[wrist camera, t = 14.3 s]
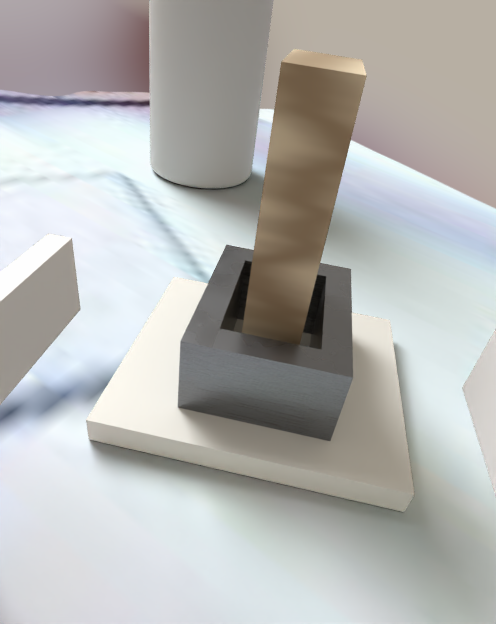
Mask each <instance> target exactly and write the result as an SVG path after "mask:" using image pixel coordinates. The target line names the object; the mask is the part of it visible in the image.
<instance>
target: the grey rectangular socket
mask: <svg viewBox="0 0 496 624" xmlns="http://www.w3.org/2000/svg"><path fill="white" fill-rule="evenodd" d="M253 253H254V250H250V249H245V248H240V247H235V246H230V245H226V247H225V249H224V251H223V253H222V255H221V257H220V260H219V262H218V264H217V266H216V268H215V270H214V272H213V274H212V276H211V278H210V280H209V283H208V285H207V287H206V289H205V291H204V293H203V295H202V297H201V299H200V301H199V303H198V305H197V308H196V310H195V312H194V314H193V316H192V318H191V320H190V322H189V324H188V326H187V328H186V330H185V333H184V335H183V337H182V339H181V341H180V362H179V385H178V408H182V409H187V410H191V411H196V412H200V413H205V414H209V415H214V416H218V417H223V418H227V419H232V420H236V421H241V422H245V423H250V424H254V425H259V426H263V427H268V428H272V429H277V430H281V431H286V432H290V433H295V434H299V435H304V436H308V437H313V438H317V439H322V440H326V441H331V438H332V435H333V432H334V430H335V427H336V424H337V421H338V419H339V416H340V413H341V410H342V408H343V405H344V402H345V399H346V396H347V394H348V391H349V388H350V385H351V383H352V380H353V344H352V301H351V269H348V268H343V267H338V266H333V265H328V264H322V263H320V265H319V269H318V273H317V277H316V281H315V285H314V289H313V293H312V297H311V301H310V305H309V309H308V313H307V317H306V321H305V325H304V329H303V332H304V333H309V334H311V340H310V347H307V346H302V345H297V344H292V343H287V342H283V341H278V340H273V339H268V338H263V337H259V336H254V335H249V334H244V333H239V332H234V331H233V330H234V327H235V324H236V321H237V319H240V320H244V314H245V307H246V301H247V294H248V287H249V280H250V273H251V266H252V260H253Z"/></svg>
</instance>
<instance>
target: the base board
mask: <svg viewBox="0 0 496 624" xmlns="http://www.w3.org/2000/svg"><path fill="white" fill-rule="evenodd" d="M207 285H208V283H203V282H198V281H193V280H188V279H183V278H178V277H174V278H173V279H172V281H171V282H170V284H169V286H168V287H167V289H166V291H165V292H164V294H163V296H162V297H161V299H160V300H159V302H158V304H157V305H156V307H155V309H154V310H153V312H152V313H151V315H150V317H149V318H148V320H147V322H146V323H145V325H144V326H143V328H142V330H141V331H140V333H139V335H138V336H137V338H136V340H135V341H134V343H133V344H132V346H131V348H130V349H129V351H128V353H127V354H126V356H125V357H124V359H123V361H122V362H121V364H120V366H119V367H118V369H117V370H116V372H115V374H114V375H113V377H112V379H111V380H110V382H109V384H108V385H107V387H106V388H105V390H104V392H103V393H102V395H101V397H100V398H99V400H98V401H97V403H96V405H95V406H94V408H93V410H92V411H91V413H90V414H89V416H88V418H87V419H86V422H87V430H88V437H89V440H94V441H98V442H102V443H107V444H111V445H115V446H120V447H124V448H128V449H133V450H137V451H141V452H146V453H150V454H154V455H159V456H163V457H167V458H172V459H176V460H180V461H185V462H189V463H193V464H198V465H202V466H206V467H211V468H215V469H219V470H224V471H228V472H232V473H237V474H241V475H245V476H250V477H254V478H258V479H263V480H267V481H271V482H276V483H280V484H284V485H289V486H293V487H297V488H302V489H306V490H310V491H315V492H319V493H323V494H328V495H332V496H336V497H341V498H345V499H349V500H354V501H358V502H362V503H367V504H371V505H375V506H380V507H384V508H388V509H393V510H397V511H401V512H405V510H406V508H407V507H408V505H409V503H410V502H411V500H412V498H413V497H414V495H415V494H414V487H413V480H412V473H411V466H410V459H409V451H408V444H407V437H406V430H405V423H404V416H403V409H402V402H401V395H400V388H399V381H398V374H397V367H396V360H395V353H394V346H393V338H392V331H391V324H390V320H387V319H382V318H377V317H372V316H367V315H362V314H357V313H352V344H353V380H352V383H351V385H350V388H349V391H348V394H347V396H346V399H345V402H344V405H343V408H342V410H341V413H340V416H339V419H338V421H337V424H336V427H335V430H334V432H333V435H332V438H331V441H326V440H322V439H317V438H313V437H308V436H304V435H299V434H295V433H290V432H286V431H281V430H277V429H272V428H268V427H263V426H259V425H254V424H250V423H245V422H241V421H236V420H232V419H227V418H223V417H218V416H214V415H209V414H205V413H200V412H196V411H191V410H187V409H182V408H178V385H179V362H180V341H181V339H182V337H183V335H184V333H185V330H186V328H187V326H188V324H189V322H190V320H191V318H192V316H193V314H194V312H195V310H196V308H197V305H198V303H199V301H200V299H201V297H202V295H203V293H204V291H205V289H206V287H207ZM243 321H244V320H240V319H237V321H236V324H235V327H234V330H233V331H234V332H239V333H242V328H243ZM310 340H311V334H309V333H304V332H303V333H302V337H301V341H300V345H302V346H307V347H310Z"/></svg>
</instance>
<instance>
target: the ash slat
mask: <svg viewBox="0 0 496 624" xmlns="http://www.w3.org/2000/svg"><path fill="white" fill-rule="evenodd" d="M365 80H366V72H365V68H364V65H363V61H362V60H360V59H354V58H347V57H342V56H335V55H329V54H323V53H316V52H310V51H304V50H298V49H294V50H293V51H292V52H291V53H290V54H289V55H288V56H287V57H286V58H285V59H284V60H283V61H282V62H281V68H280V76H279V82H278V89H277V96H276V102H275V109H274V116H273V123H272V130H271V137H270V143H269V150H268V157H267V164H266V171H265V178H264V184H263V191H262V198H261V205H260V212H259V219H258V225H257V232H256V239H255V246H254V253H253V260H252V266H251V273H250V280H249V287H248V294H247V301H246V307H245V314H244V321H243V328H242V333H244V334H249V335H254V336H259V337H263V338H268V339H273V340H278V341H283V342H287V343H292V344H297V345H300V341H301V337H302V333H303V329H304V325H305V321H306V317H307V313H308V309H309V305H310V301H311V297H312V293H313V289H314V285H315V281H316V277H317V273H318V269H319V265H320V261H321V257H322V253H323V249H324V245H325V241H326V237H327V233H328V229H329V225H330V221H331V217H332V213H333V209H334V205H335V201H336V197H337V193H338V189H339V185H340V181H341V177H342V173H343V169H344V165H345V161H346V157H347V153H348V148H349V144H350V140H351V136H352V132H353V128H354V124H355V120H356V116H357V112H358V108H359V104H360V100H361V96H362V92H363V88H364V84H365Z"/></svg>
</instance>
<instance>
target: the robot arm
mask: <svg viewBox="0 0 496 624" xmlns="http://www.w3.org/2000/svg"><path fill="white" fill-rule="evenodd" d="M79 311H80V302H79V293H78V285H77V277H76V269H75V260H74V252H73V244H72V238H69V237H64V236H58V235H53V234H47V235H46V236H45V237H44V238H42V239H41V240H40V241H39V242H37V243H36V244H35V245H34V246H32V247H31V248H30V249H29V250H27V251H26V252H25V253H24V254H22V255H21V256H20V257H19V258H17V259H16V260H15V261H14V262H12V263H11V264H10V265H9V266H7V267H6V268H5V269H4V270H2V271H1V272H0V404H1V403H2V402H3V401H4V400H5V398H6V397H7V396H8V395H9V394H10V393H11V391H12V390H13V389H14V388H15V387H16V385H17V384H18V383H19V382H20V381H21V379H22V378H23V377H24V376H25V375H26V374H27V372H28V371H29V370H30V369H31V368H32V366H33V365H34V364H35V363H36V362H37V360H38V359H39V358H40V357H41V356H42V354H43V353H44V352H45V351H46V350H47V349H48V347H49V346H50V345H51V344H52V343H53V341H54V340H55V339H56V338H57V337H58V335H59V334H60V333H61V332H62V331H63V330H64V328H65V327H66V326H67V325H68V324H69V322H70V321H71V320H72V319H73V318H74V316H75V315H76V314H77V313H78V312H79ZM462 389H463V392H464V396H465V399H466V402H467V405H468V409H469V412H470V415H471V418H472V422H473V425H474V428H475V431H476V434H477V438H478V441H479V444H480V447H481V451H482V454H483V457H484V460H485V464H486V467H487V470H488V473H489V476H490V480H491V483H492V486H493V489H494V493H495V496H496V329H495V331H494V333H493V335H492V336H491V338H490V340H489V342H488V343H487V345H486V347H485V349H484V351H483V352H482V354H481V356H480V358H479V359H478V361H477V363H476V365H475V366H474V368H473V370H472V372H471V373H470V375H469V377H468V379H467V380H466V382H465V384H464V386H463V387H462Z"/></svg>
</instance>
